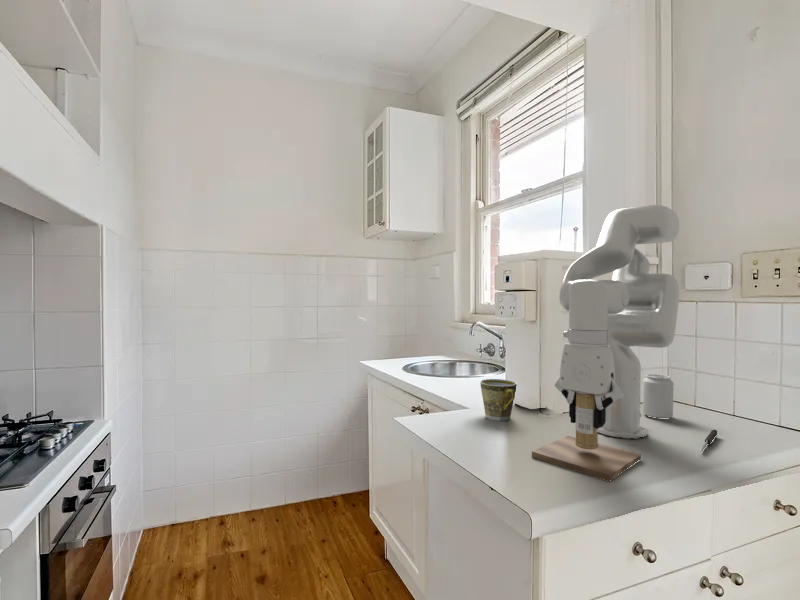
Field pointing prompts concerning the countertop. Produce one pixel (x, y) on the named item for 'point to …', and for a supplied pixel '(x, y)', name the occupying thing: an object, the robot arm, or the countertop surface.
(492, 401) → the ceramic cup
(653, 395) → the can
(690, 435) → the countertop surface
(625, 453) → the walnut board
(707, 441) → the kitchen knife
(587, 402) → the sprinkles bottle
